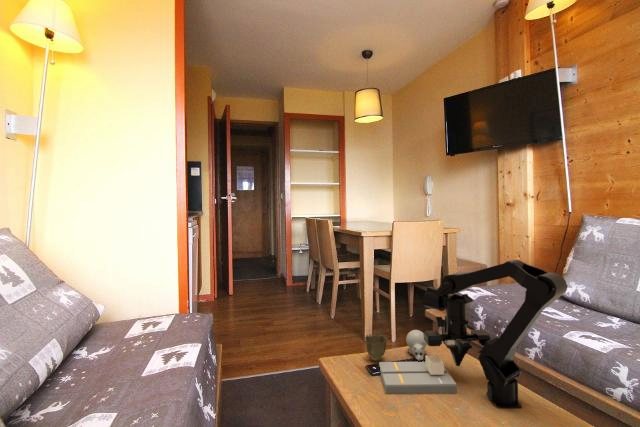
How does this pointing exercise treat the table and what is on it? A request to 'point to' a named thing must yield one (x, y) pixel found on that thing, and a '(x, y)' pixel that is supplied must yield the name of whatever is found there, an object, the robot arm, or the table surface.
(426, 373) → the console board
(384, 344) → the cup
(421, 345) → the chubby cartoon animal
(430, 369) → the fader cap
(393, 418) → the table surface
